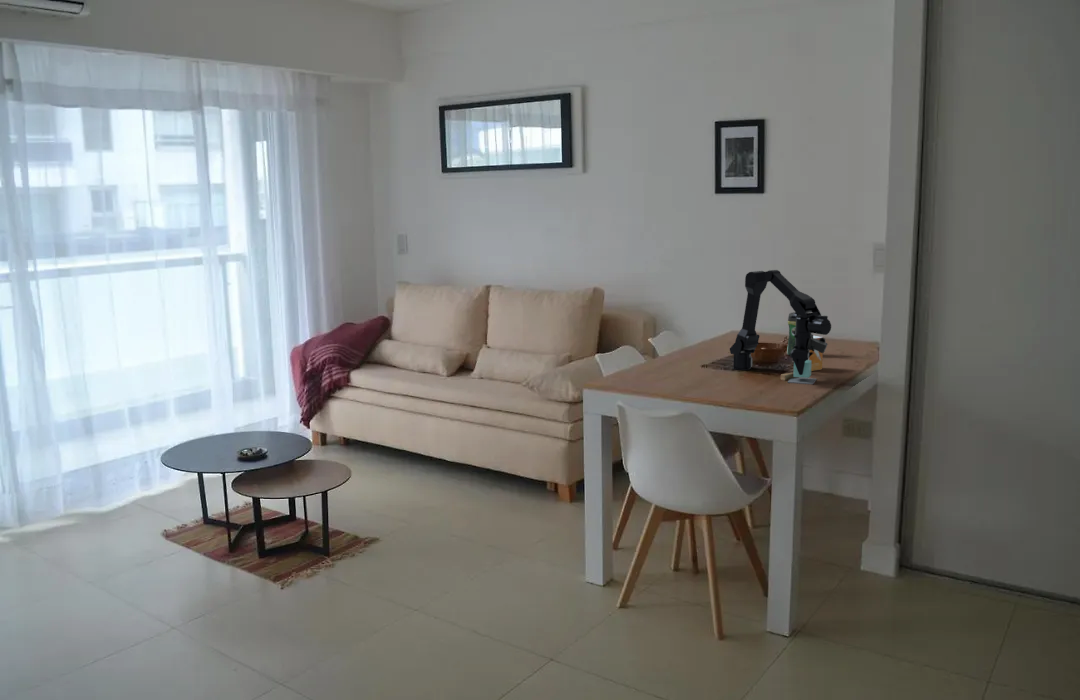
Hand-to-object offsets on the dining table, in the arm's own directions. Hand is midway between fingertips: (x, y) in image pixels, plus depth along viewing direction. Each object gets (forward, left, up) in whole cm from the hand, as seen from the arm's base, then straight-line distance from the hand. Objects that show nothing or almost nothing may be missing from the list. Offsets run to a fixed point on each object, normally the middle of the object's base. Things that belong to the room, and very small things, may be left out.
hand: (802, 373), depth 332 cm
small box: (-1, +23, -3) cm, 24 cm away
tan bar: (-5, +3, -3) cm, 6 cm away
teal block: (0, 0, -1) cm, 1 cm away
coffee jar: (-10, +53, -3) cm, 55 cm away
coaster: (0, 0, -3) cm, 3 cm away
